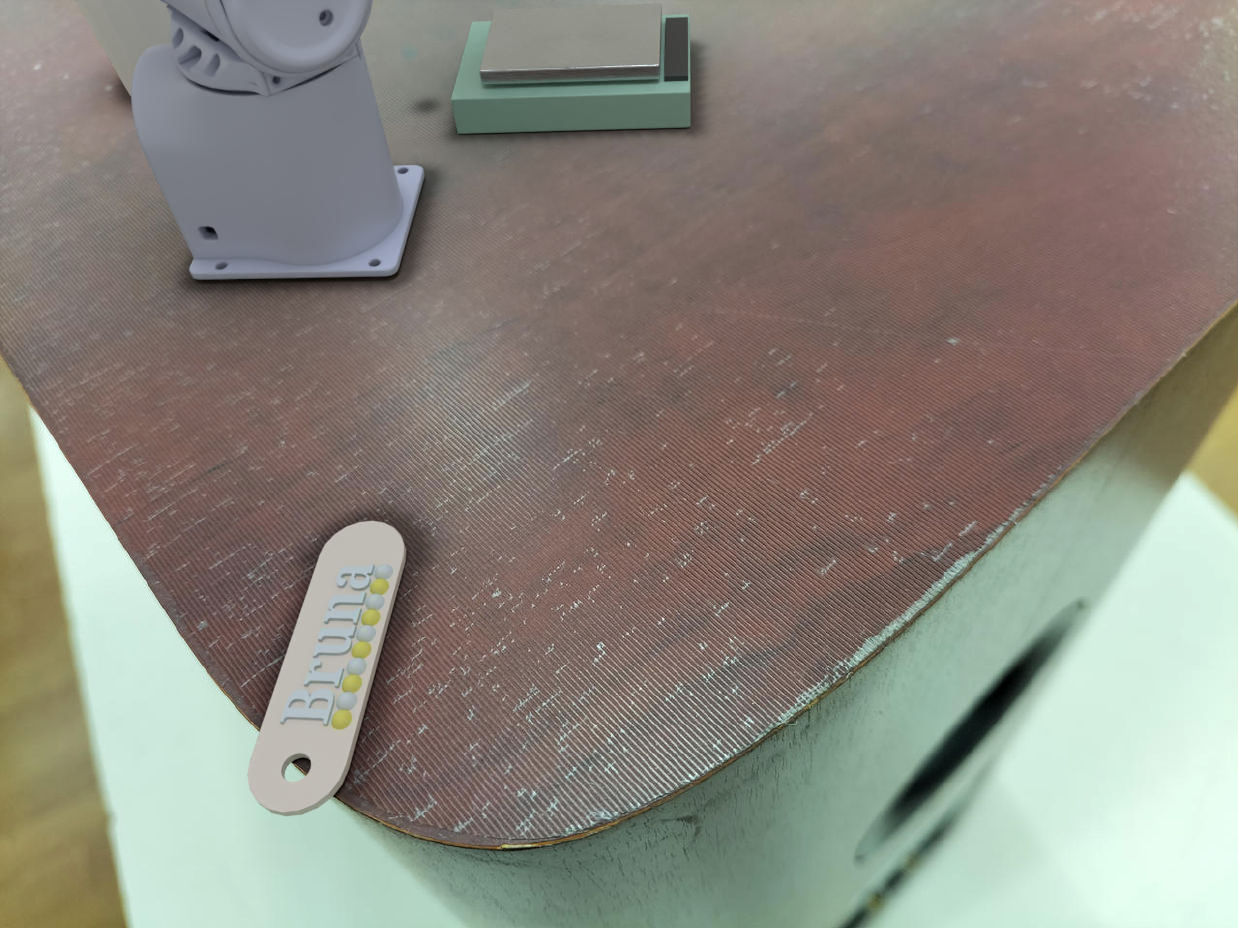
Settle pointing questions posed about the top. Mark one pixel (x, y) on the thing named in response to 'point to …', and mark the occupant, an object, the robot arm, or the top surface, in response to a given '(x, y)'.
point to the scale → (576, 93)
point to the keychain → (328, 669)
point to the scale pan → (573, 44)
